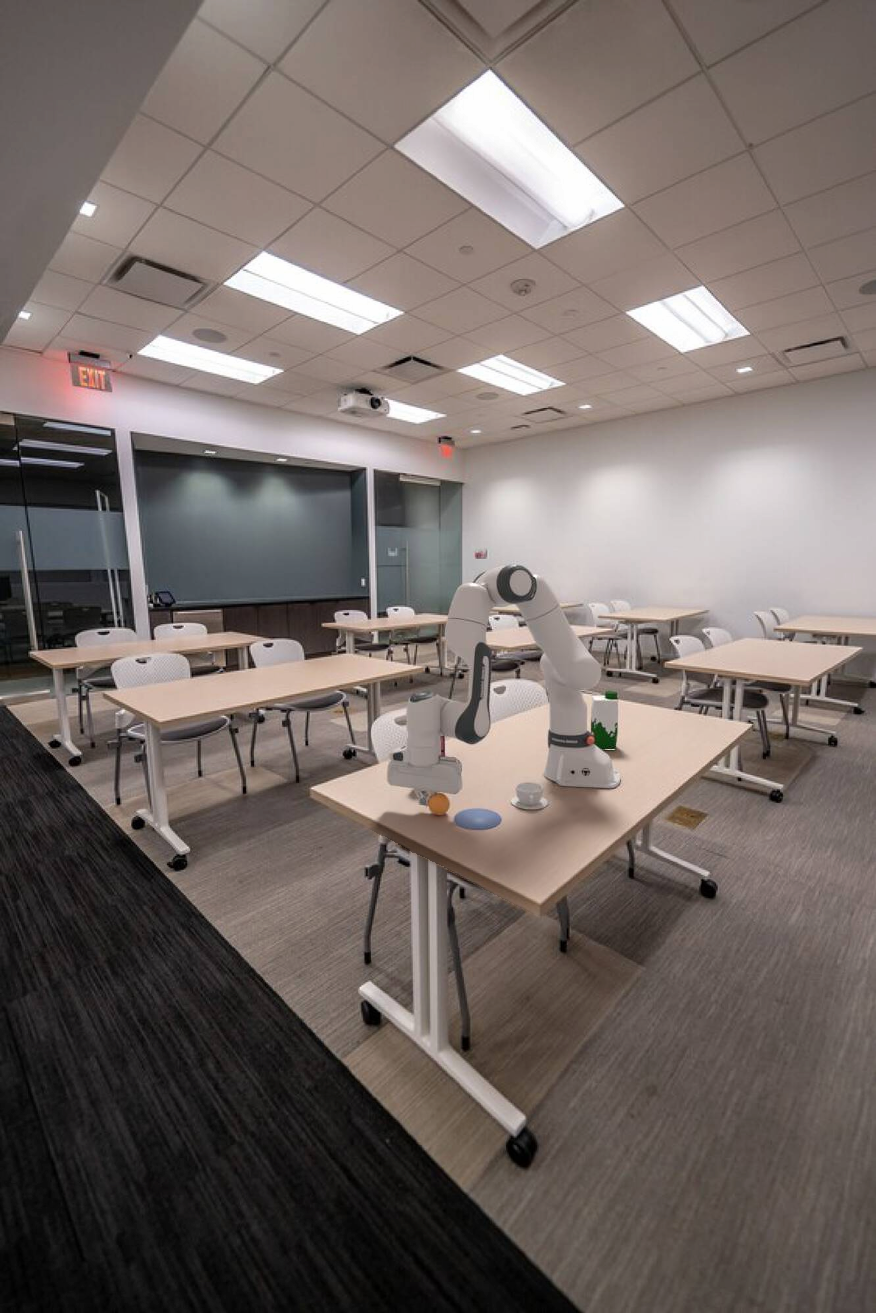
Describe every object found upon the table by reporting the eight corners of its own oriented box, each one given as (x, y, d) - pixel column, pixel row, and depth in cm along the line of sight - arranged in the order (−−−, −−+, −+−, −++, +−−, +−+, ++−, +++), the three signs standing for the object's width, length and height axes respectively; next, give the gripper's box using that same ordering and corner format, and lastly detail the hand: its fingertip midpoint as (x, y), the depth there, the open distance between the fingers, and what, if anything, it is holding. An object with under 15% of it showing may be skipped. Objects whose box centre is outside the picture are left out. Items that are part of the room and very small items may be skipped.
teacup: (509, 796, 153) (509, 780, 152) (545, 796, 152) (545, 780, 152) (512, 811, 143) (512, 794, 142) (550, 811, 143) (551, 794, 142)
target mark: (506, 812, 142) (506, 811, 142) (494, 832, 131) (494, 832, 130) (462, 806, 146) (462, 805, 146) (447, 825, 135) (447, 824, 135)
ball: (432, 806, 145) (452, 810, 144) (424, 816, 140) (445, 821, 138) (433, 787, 144) (453, 791, 142) (425, 796, 139) (446, 801, 137)
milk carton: (618, 751, 188) (619, 695, 186) (591, 750, 190) (592, 694, 187) (615, 744, 197) (616, 689, 194) (589, 743, 199) (590, 689, 196)
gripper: (465, 754, 140) (466, 805, 142) (394, 746, 148) (395, 795, 150) (457, 762, 134) (457, 815, 136) (383, 753, 142) (384, 803, 144)
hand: (424, 804), depth 143 cm, fingers closed
